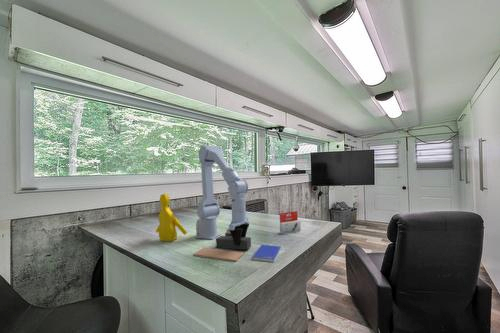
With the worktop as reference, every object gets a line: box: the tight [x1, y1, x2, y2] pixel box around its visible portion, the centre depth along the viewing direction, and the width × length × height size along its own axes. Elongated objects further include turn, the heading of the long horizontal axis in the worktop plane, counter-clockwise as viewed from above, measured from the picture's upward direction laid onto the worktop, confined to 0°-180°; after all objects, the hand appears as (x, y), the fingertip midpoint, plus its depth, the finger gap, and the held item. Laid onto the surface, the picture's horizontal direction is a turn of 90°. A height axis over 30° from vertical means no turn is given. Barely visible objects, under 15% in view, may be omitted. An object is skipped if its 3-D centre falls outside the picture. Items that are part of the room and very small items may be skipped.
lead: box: [215, 235, 252, 250], centre depth 88 cm, size 14×4×4 cm, turn 68°
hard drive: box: [251, 244, 282, 263], centre depth 80 cm, size 2×8×12 cm
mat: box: [192, 247, 245, 263], centre depth 81 cm, size 18×7×1 cm, turn 68°
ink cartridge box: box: [279, 210, 301, 235], centre depth 107 cm, size 2×11×10 cm, turn 115°
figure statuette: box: [155, 193, 188, 242], centre depth 101 cm, size 18×8×22 cm, turn 73°
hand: (239, 243), depth 87 cm, fingers closed on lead, 4 cm apart
